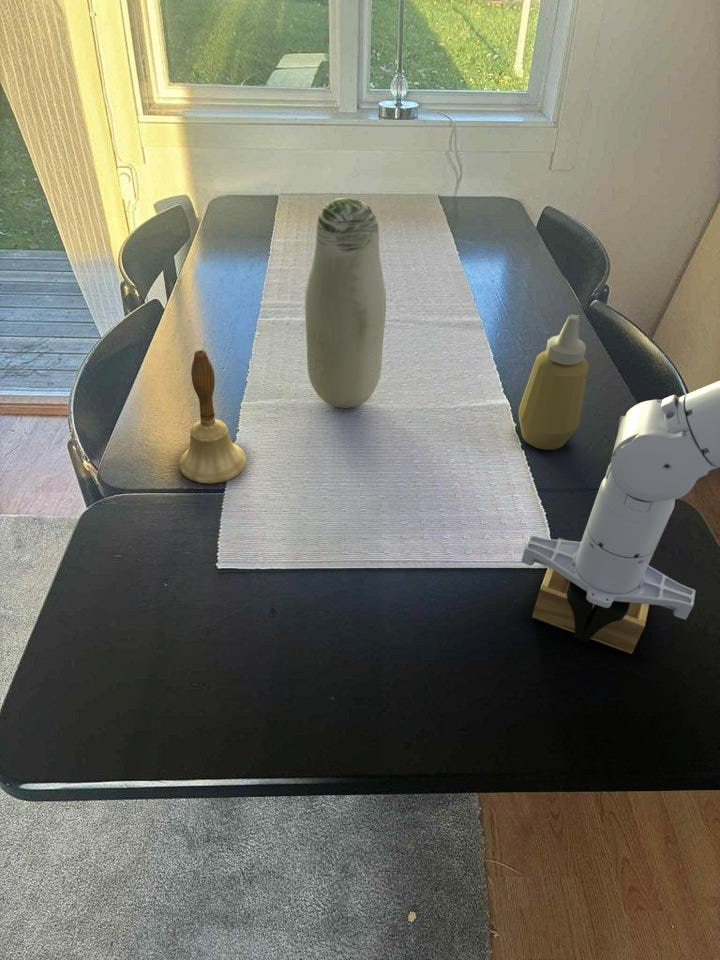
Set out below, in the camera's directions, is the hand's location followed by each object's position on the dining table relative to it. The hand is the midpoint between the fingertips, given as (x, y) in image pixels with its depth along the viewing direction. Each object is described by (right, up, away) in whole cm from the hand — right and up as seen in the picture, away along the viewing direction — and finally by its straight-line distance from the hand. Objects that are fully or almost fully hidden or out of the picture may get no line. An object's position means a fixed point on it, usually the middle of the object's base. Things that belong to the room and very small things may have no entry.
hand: (582, 632), depth 67 cm
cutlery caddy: (+2, +2, +5) cm, 6 cm away
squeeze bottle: (+3, +20, +27) cm, 34 cm away
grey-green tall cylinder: (-24, +26, +33) cm, 48 cm away
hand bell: (-40, +17, +21) cm, 48 cm away
